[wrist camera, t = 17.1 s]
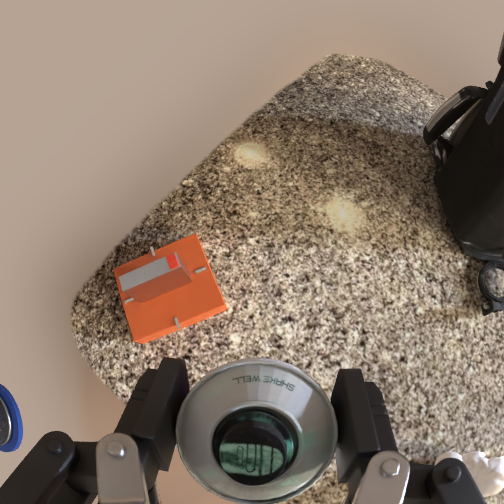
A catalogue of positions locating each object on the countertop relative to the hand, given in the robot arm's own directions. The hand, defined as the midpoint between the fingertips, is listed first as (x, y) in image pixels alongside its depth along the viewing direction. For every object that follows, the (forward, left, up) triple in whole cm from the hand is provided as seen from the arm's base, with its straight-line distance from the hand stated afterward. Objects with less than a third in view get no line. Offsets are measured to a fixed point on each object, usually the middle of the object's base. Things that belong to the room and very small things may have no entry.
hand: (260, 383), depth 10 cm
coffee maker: (+41, +7, -27) cm, 50 cm away
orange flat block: (-7, +14, -26) cm, 31 cm away
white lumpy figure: (+18, -27, -27) cm, 42 cm away
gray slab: (-7, +14, -23) cm, 28 cm away
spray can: (-1, -2, -16) cm, 16 cm away
